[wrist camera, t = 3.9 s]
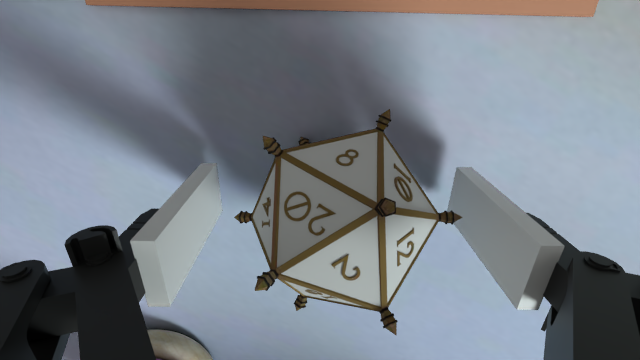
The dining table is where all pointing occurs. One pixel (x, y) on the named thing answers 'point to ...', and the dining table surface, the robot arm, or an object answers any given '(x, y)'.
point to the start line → (386, 6)
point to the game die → (342, 220)
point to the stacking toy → (176, 346)
